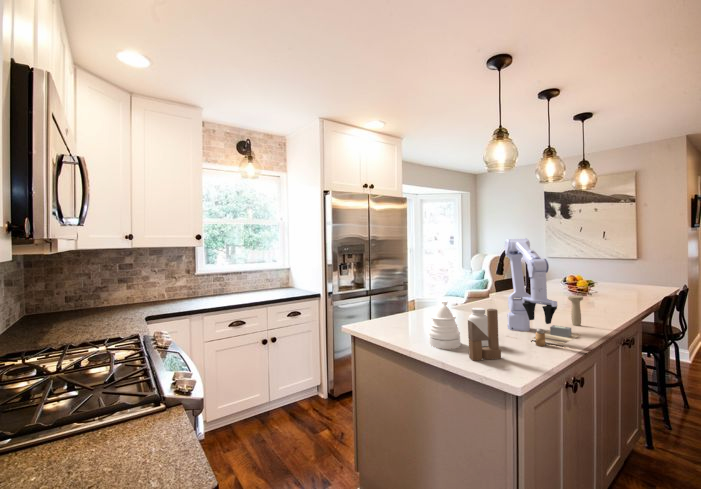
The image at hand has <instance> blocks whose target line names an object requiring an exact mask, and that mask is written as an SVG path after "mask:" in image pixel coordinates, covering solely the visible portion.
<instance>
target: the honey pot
mask: <svg viewBox="0 0 701 489" xmlns="http://www.w3.org/2000/svg"><path fill="white" fill-rule="evenodd" d="M440 303H441V305H440V306H439V307H438V308H437V309H436V311H435V313H434V314H433V315H431V317H430V318H431V319H432V322H431V323H430V327H429V328H430V329H429V330H428V343H429V344H430V345H431V346H430V345H429V344H428V345H429V346H430V347H432V346H433V347H432V348H435V347H436V348H435V349H440V348H442V349H441V350H454V349H457V347H458V348H460V347H461V332H460V331H459V327H458V324H457V322H456V316H455V315H453V313H452V311H451V309H449V308H448V307H449V306H447V305H448V301H447V300H441V302H440ZM459 346H460V347H459ZM451 348H452V349H451ZM453 348H454V349H453Z"/></svg>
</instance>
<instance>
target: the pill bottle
mask: <svg viewBox="0 0 701 489" xmlns="http://www.w3.org/2000/svg"><path fill="white" fill-rule="evenodd" d="M468 320H469V321H471V322H473V323H474V324H475V325H476V326H477V327H478V328H479V329H480V330H481V331H482V332H483V333H484V334H485V335H487V336H488V323H487V314H486V309H485V308H484V307H472V308H471V314H470V315H469V316H468ZM483 347H488V340H485V341H482V348H483Z"/></svg>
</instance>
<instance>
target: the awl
mask: <svg viewBox="0 0 701 489" xmlns="http://www.w3.org/2000/svg"><path fill="white" fill-rule="evenodd" d="M535 337H536V339H535V340H536V342H535V346H536V347H546V344H545V342H546V341H545V332H544V329H543V328H536V332H535Z"/></svg>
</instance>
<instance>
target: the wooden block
mask: <svg viewBox="0 0 701 489" xmlns="http://www.w3.org/2000/svg"><path fill="white" fill-rule="evenodd" d="M498 311H499V310H498V309H497V308H487V309H486V316H487V323H488V336H487V335H485V334H484V333H483V332H482V331H481V330H480V329H479V328H478V327H477V326H476V325H475V324H474V323H473V322H471V321H469V319H467V336H468V355H469V356H468V357H469V358H468V359H470V360H472V362H473V361H474V362H476V361H478V362H479V361H483V360H485V361H486V360H487V361H489V360H490V361H491V360H501V359H502V350H501V348H500V344H499V343H500V342H499V341H500V340H499V339H500V338H499V315H498V314H499V313H498ZM485 340H488V346H483V347H482V341H485Z"/></svg>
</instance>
